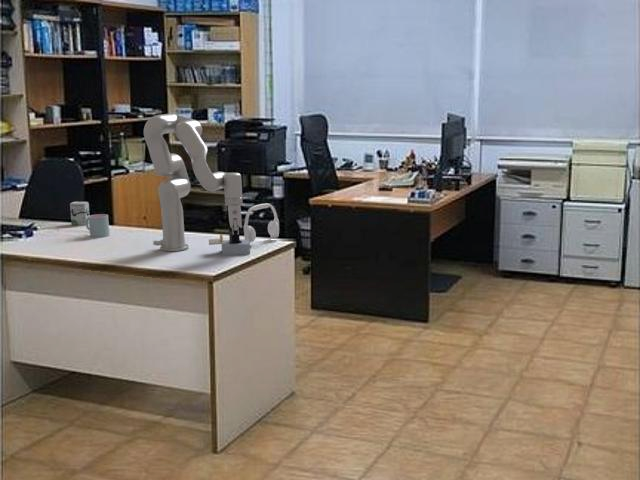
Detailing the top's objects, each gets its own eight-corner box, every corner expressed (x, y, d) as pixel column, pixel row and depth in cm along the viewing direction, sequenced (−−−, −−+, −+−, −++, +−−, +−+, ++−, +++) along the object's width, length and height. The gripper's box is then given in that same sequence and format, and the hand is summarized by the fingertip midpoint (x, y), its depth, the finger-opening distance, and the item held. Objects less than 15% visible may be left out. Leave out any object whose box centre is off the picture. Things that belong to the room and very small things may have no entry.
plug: (239, 250, 361) (238, 229, 359) (230, 250, 360) (229, 230, 359) (238, 248, 365) (238, 228, 363) (229, 249, 364) (229, 228, 362)
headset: (251, 246, 374) (249, 207, 370) (240, 244, 379) (239, 206, 375) (282, 239, 388) (281, 201, 385) (272, 237, 393) (270, 200, 389)
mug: (113, 234, 408) (112, 215, 406) (99, 238, 400) (97, 218, 398) (94, 232, 415) (92, 212, 413) (79, 235, 407) (78, 215, 405)
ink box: (71, 225, 436) (69, 203, 434) (75, 223, 441) (73, 201, 439) (86, 225, 435) (84, 203, 432) (90, 223, 440) (88, 201, 437)
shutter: (208, 244, 357) (208, 237, 356) (208, 241, 364) (208, 233, 364) (222, 244, 358) (222, 236, 357) (222, 240, 365) (222, 233, 365)
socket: (222, 255, 357) (221, 245, 357) (221, 250, 367) (221, 240, 366) (250, 253, 359) (249, 243, 358) (248, 249, 369) (248, 239, 368)
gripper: (243, 203, 351) (245, 246, 355) (241, 198, 367) (243, 238, 371) (225, 204, 350) (227, 247, 354) (224, 198, 366) (226, 239, 370)
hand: (235, 242), depth 362 cm, fingers closed on plug, 3 cm apart
